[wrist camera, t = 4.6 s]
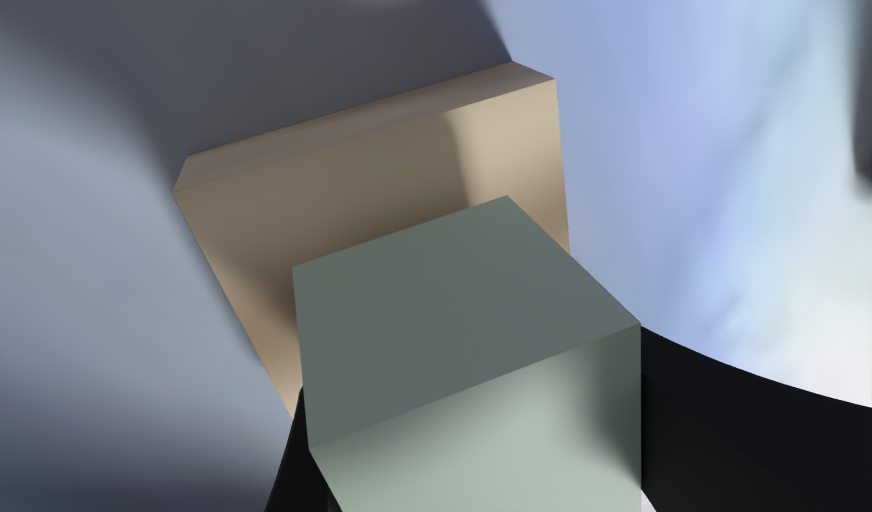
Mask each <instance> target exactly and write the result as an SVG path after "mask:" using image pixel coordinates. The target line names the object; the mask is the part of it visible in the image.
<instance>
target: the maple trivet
mask: <svg viewBox="0 0 872 512" xmlns="http://www.w3.org/2000/svg"><path fill="white" fill-rule="evenodd" d="M172 195H173V197H174V199H175V201H176V203H177V205H178V206H179V208H180V210H181V212H182V214H183V216H184V218H185V220H186V221H187V223H188V225H189V227H190V229H191V231H192V233H193V234H194V236H195V238H196V240H197V242H198V244H199V246H200V248H201V249H202V251H203V253H204V255H205V257H206V259H207V261H208V263H209V264H210V266H211V268H212V270H213V272H214V274H215V276H216V277H217V279H218V281H219V283H220V285H221V287H222V289H223V291H224V292H225V294H226V296H227V298H228V300H229V302H230V304H231V305H232V307H233V309H234V311H235V313H236V315H237V317H238V319H239V320H240V322H241V324H242V326H243V328H244V330H245V332H246V334H247V335H248V337H249V339H250V341H251V343H252V345H253V347H254V348H255V350H256V352H257V354H258V356H259V358H260V360H261V362H262V363H263V365H264V367H265V369H266V371H267V373H268V375H269V376H270V378H271V380H272V382H273V384H274V386H275V388H276V390H277V391H278V393H279V395H280V397H281V399H282V401H283V403H284V405H285V406H286V408H287V410H288V412H289V414H290V416H291V418H292V419H294V415H295V410H296V406H297V401H298V396H299V391H300V389H301V388H302V386H303V380H302V370H301V359H300V348H299V337H298V326H297V316H296V305H295V294H294V283H293V272H292V267H293V266H296V265H299V264H302V263H305V262H308V261H311V260H314V259H317V258H320V257H323V256H326V255H329V254H332V253H335V252H338V251H341V250H344V249H347V248H350V247H353V246H356V245H359V244H362V243H365V242H368V241H371V240H374V239H377V238H380V237H383V236H386V235H389V234H392V233H395V232H398V231H401V230H404V229H407V228H410V227H413V226H416V225H419V224H422V223H425V222H428V221H431V220H434V219H437V218H440V217H443V216H446V215H449V214H452V213H455V212H458V211H461V210H464V209H466V208H469V207H472V206H475V205H478V204H481V203H484V202H487V201H490V200H493V199H496V198H499V197H502V196H505V195H508V196H509V197H510V198H511V199H512V200H513V201H514V202H515V203H516V204H517V205H518V206H519V207H520V208H521V209H522V210H523V211H524V212H525V213H526V214H528V215H529V216H530V217H531V218H532V219H533V220H534V221H535V222H536V223H537V224H538V225H539V226H540V227H541V228H542V229H543V230H544V231H545V232H546V233H547V234H548V235H549V236H551V237H552V238H553V239H554V240H555V241H556V242H557V243H558V244H559V245H560V246H561V247H562V248H563V249H564V250H565V251H566V252H567V253H568V254H569V255H570V246H569V234H568V222H567V210H566V197H565V185H564V173H563V161H562V149H561V137H560V124H559V112H558V100H557V88H556V79H555V78H553V77H550V76H548V75H545V74H543V73H540V72H538V71H536V70H533V69H531V68H528V67H526V66H524V65H521V64H519V63H516V62H514V61H511V62H507V63H504V64H500V65H497V66H494V67H490V68H487V69H483V70H480V71H476V72H473V73H470V74H466V75H463V76H459V77H456V78H452V79H449V80H445V81H442V82H439V83H435V84H432V85H428V86H425V87H421V88H418V89H414V90H411V91H408V92H404V93H401V94H397V95H394V96H390V97H387V98H384V99H380V100H377V101H373V102H370V103H366V104H363V105H359V106H356V107H353V108H349V109H346V110H342V111H339V112H335V113H332V114H328V115H325V116H322V117H318V118H315V119H311V120H308V121H304V122H301V123H298V124H294V125H291V126H287V127H284V128H280V129H277V130H273V131H270V132H267V133H263V134H260V135H256V136H253V137H249V138H246V139H242V140H239V141H236V142H232V143H229V144H225V145H222V146H218V147H215V148H212V149H208V150H205V151H201V152H198V153H194V154H191V155H187V157H186V160H185V162H184V165H183V167H182V169H181V172H180V174H179V177H178V179H177V182H176V184H175V187H174V189H173V192H172Z"/></svg>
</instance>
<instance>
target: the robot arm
mask: <svg viewBox="0 0 872 512" xmlns="http://www.w3.org/2000/svg"><path fill="white" fill-rule="evenodd" d="M641 489H642V491H643V492H644V494H645V495H646V497H647V498H648V499H649V501H650V502H651V504H652V505H653V507H654V509H655V510H656V512H872V408H871V407H866V406H862V405H858V404H854V403H850V402H846V401H842V400H838V399H834V398H830V397H827V396H823V395H820V394H816V393H813V392H809V391H806V390H803V389H799V388H796V387H792V386H789V385H785V384H782V383H779V382H776V381H773V380H770V379H767V378H764V377H761V376H758V375H755V374H752V373H750V372H747V371H744V370H741V369H739V368H736V367H733V366H730V365H728V364H725V363H722V362H720V361H717V360H715V359H712V358H710V357H707V356H705V355H703V354H700V353H698V352H696V351H693V350H691V349H689V348H686V347H684V346H682V345H680V344H677V343H675V342H673V341H671V340H669V339H667V338H664V337H662V336H660V335H658V334H656V333H654V332H652V331H650V330H648V329H646V328H644V327H642V326H641ZM264 512H343V511H342V509H341V508H340V506H339V504H338V502H337V500H336V498H335V497H334V495H333V493H332V491H331V489H330V487H329V486H328V484H327V482H326V480H325V478H324V476H323V474H322V473H321V471H320V469H319V467H318V465H317V463H316V462H315V460H314V458H313V456H312V454H311V452H310V451H309V445H308V435H307V424H306V413H305V402H304V391H303V386H302V388H301V389H300V391H299V396H298V401H297V406H296V410H295V415H294V419H293V423H292V426H291V430H290V434H289V438H288V441H287V445H286V448H285V451H284V454H283V458H282V461H281V464H280V467H279V471H278V474H277V477H276V480H275V483H274V486H273V489H272V491H271V494H270V497H269V499H268V502H267V505H266V508H265V510H264Z"/></svg>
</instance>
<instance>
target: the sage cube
mask: <svg viewBox="0 0 872 512" xmlns="http://www.w3.org/2000/svg"><path fill="white" fill-rule="evenodd" d="M292 272H293V283H294V294H295V305H296V316H297V326H298V337H299V348H300V359H301V370H302V380H303V391H304V402H305V413H306V424H307V435H308V445H309V451H310V452H311V454H312V456H313V458H314V460H315V462H316V463H317V465H318V467H319V469H320V471H321V473H322V474H323V476H324V478H325V480H326V482H327V484H328V486H329V487H330V489H331V491H332V493H333V495H334V497H335V498H336V500H337V502H338V504H339V506H340V508H341V509H342V511H343V512H641V323H640V322H639V321H638V320H637V319H636V318H635V317H634V316H633V315H632V314H631V313H630V312H629V311H628V310H627V309H626V308H625V307H624V306H623V305H622V304H620V303H619V302H618V301H617V300H616V299H615V298H614V297H613V296H612V295H611V294H610V293H609V292H608V291H607V290H606V289H605V288H604V287H603V286H602V285H601V284H600V283H599V282H598V281H596V280H595V279H594V278H593V277H592V276H591V275H590V274H589V273H588V272H587V271H586V270H585V269H584V268H583V267H582V266H581V265H580V264H579V263H578V262H577V261H576V260H575V259H573V258H572V257H571V256H570V255H569V254H568V253H567V252H566V251H565V250H564V249H563V248H562V247H561V246H560V245H559V244H558V243H557V242H556V241H555V240H554V239H553V238H552V237H551V236H549V235H548V234H547V233H546V232H545V231H544V230H543V229H542V228H541V227H540V226H539V225H538V224H537V223H536V222H535V221H534V220H533V219H532V218H531V217H530V216H529V215H528V214H526V213H525V212H524V211H523V210H522V209H521V208H520V207H519V206H518V205H517V204H516V203H515V202H514V201H513V200H512V199H511V198H510V197H509V196H508V195H505V196H502V197H499V198H496V199H493V200H490V201H487V202H484V203H481V204H478V205H475V206H472V207H469V208H466V209H464V210H461V211H458V212H455V213H452V214H449V215H446V216H443V217H440V218H437V219H434V220H431V221H428V222H425V223H422V224H419V225H416V226H413V227H410V228H407V229H404V230H401V231H398V232H395V233H392V234H389V235H386V236H383V237H380V238H377V239H374V240H371V241H368V242H365V243H362V244H359V245H356V246H353V247H350V248H347V249H344V250H341V251H338V252H335V253H332V254H329V255H326V256H323V257H320V258H317V259H314V260H311V261H308V262H305V263H302V264H299V265H296V266H293V267H292Z"/></svg>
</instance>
